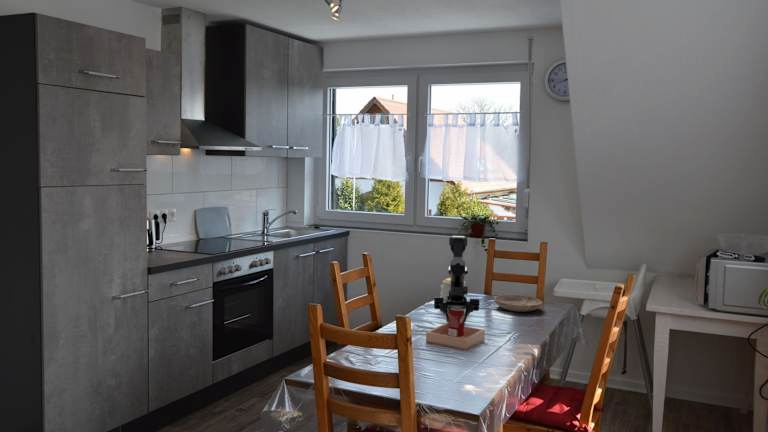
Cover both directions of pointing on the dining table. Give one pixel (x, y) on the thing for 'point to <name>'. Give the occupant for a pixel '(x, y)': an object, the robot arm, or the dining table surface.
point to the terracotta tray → (464, 343)
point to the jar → (446, 288)
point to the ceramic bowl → (518, 303)
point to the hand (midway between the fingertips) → (456, 321)
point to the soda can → (456, 322)
